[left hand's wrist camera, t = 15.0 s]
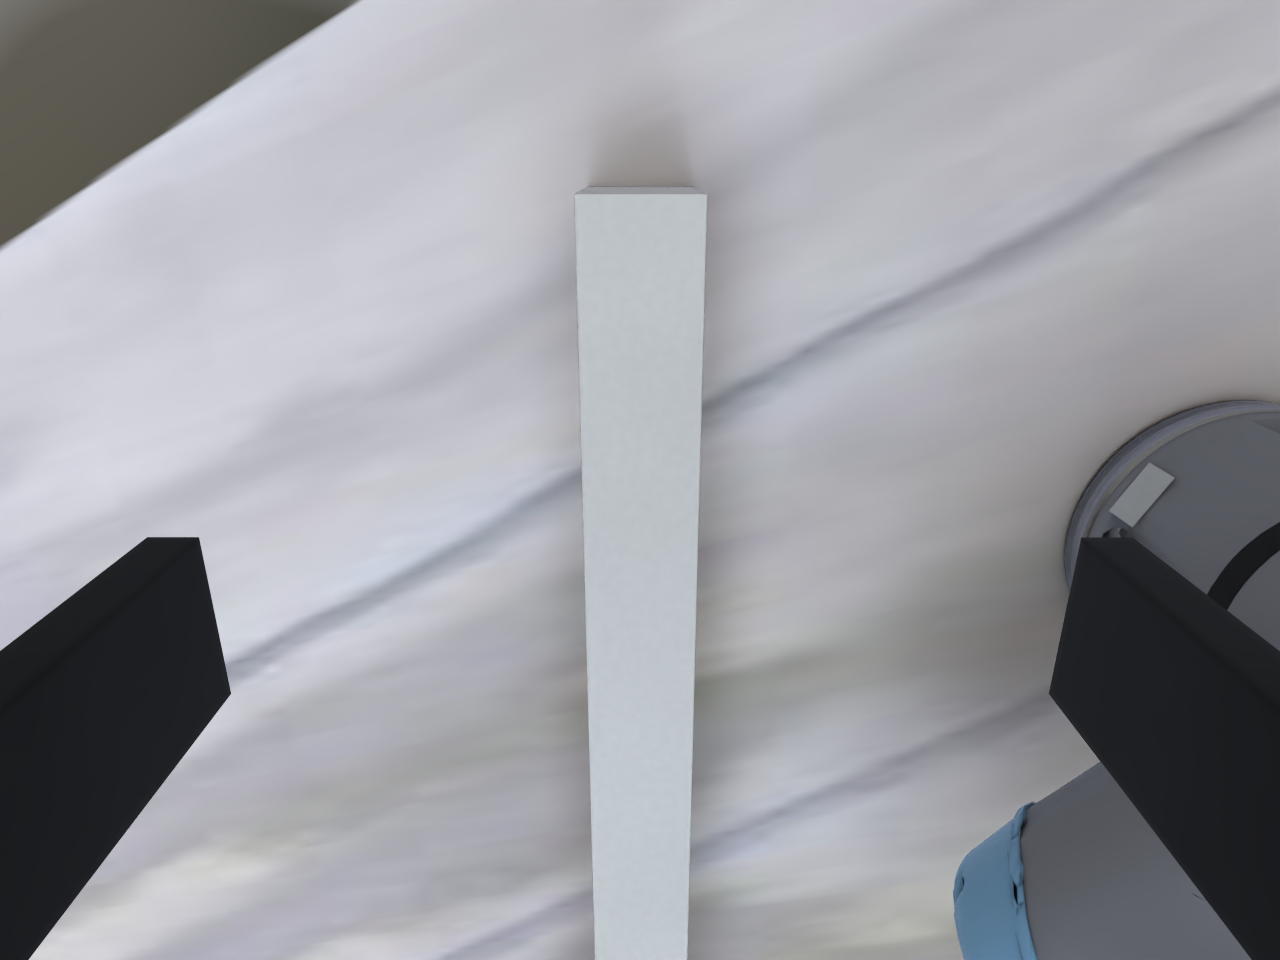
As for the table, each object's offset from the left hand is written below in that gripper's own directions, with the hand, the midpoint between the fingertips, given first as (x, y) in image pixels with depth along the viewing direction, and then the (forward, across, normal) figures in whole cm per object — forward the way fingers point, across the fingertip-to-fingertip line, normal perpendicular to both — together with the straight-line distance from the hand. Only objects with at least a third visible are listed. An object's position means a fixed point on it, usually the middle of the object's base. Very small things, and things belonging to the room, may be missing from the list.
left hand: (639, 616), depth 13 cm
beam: (+30, 0, -22) cm, 37 cm away
